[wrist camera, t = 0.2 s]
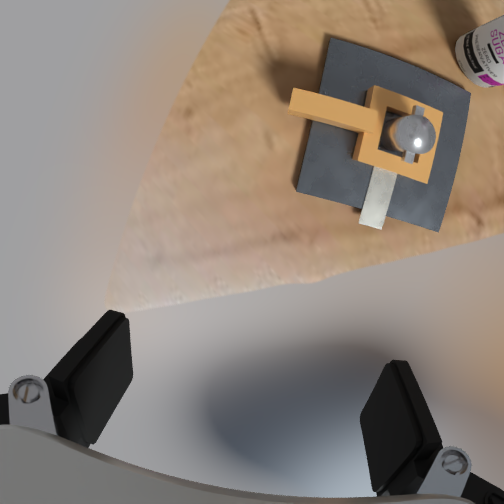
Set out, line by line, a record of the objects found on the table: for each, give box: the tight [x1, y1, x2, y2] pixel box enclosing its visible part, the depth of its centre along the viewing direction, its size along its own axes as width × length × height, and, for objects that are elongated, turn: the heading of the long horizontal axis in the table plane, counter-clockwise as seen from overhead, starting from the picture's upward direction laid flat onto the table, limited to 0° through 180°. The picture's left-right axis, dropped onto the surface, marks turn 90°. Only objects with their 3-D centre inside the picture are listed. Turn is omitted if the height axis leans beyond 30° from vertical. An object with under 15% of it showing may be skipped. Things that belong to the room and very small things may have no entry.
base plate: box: [296, 38, 471, 232], centre depth 31 cm, size 22×20×9 cm
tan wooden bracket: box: [288, 85, 443, 184], centre depth 31 cm, size 9×18×5 cm, turn 78°
